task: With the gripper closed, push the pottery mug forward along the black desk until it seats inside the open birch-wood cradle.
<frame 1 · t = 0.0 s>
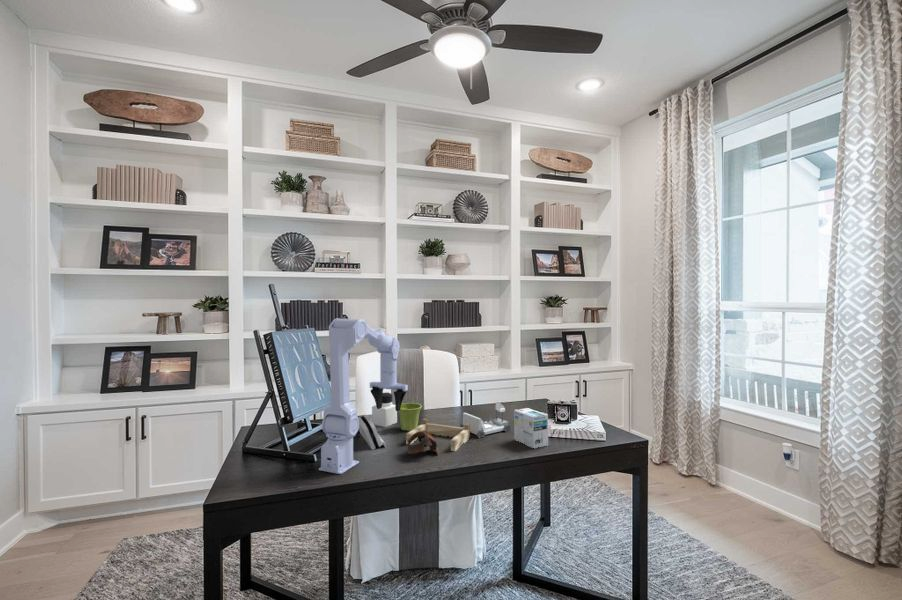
hand: (388, 409, 160), 10 cm above the table, tool pointing down, fingers open, 7 cm apart
medicine bottle: (384, 424, 177), on the table
plant pot: (409, 429, 170), on the table
toy car: (487, 431, 169), on the table
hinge: (369, 442, 156), on the table
pottery mug: (423, 454, 145), on the table
light bulb box: (530, 443, 155), on the table
cradle: (438, 441, 156), on the table
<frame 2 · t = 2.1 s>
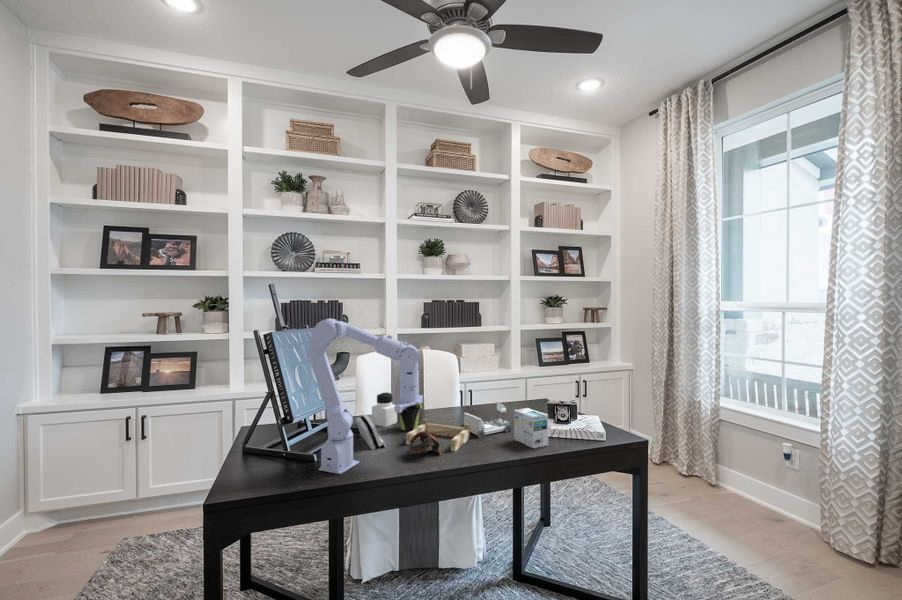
hand: (409, 430, 136), 10 cm above the table, tool pointing down, fingers closed
nothing on the table moved.
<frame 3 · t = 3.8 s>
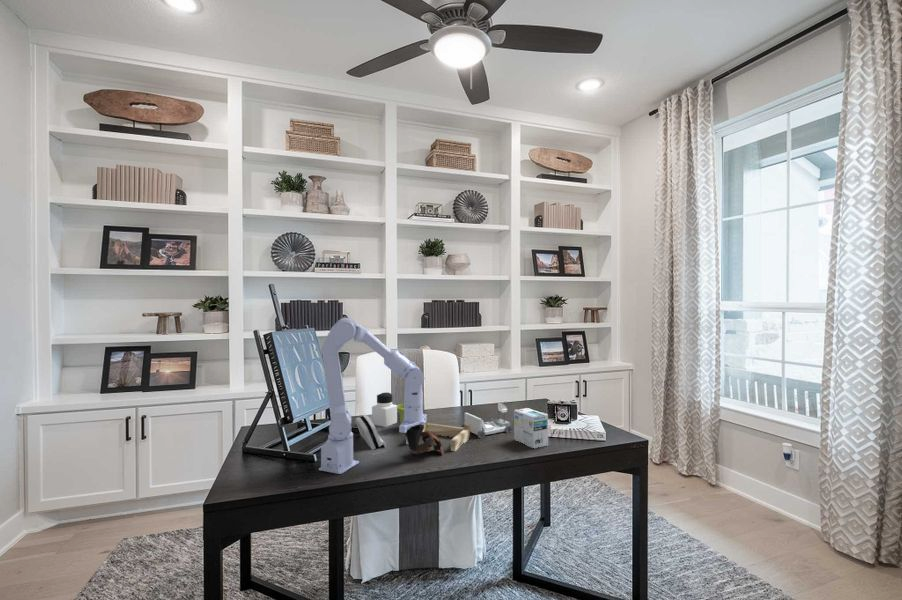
hand: (413, 449, 139), 3 cm above the table, tool pointing down, fingers closed
pottery mug: (427, 454, 145), on the table, touching gripper
everything else where it was.
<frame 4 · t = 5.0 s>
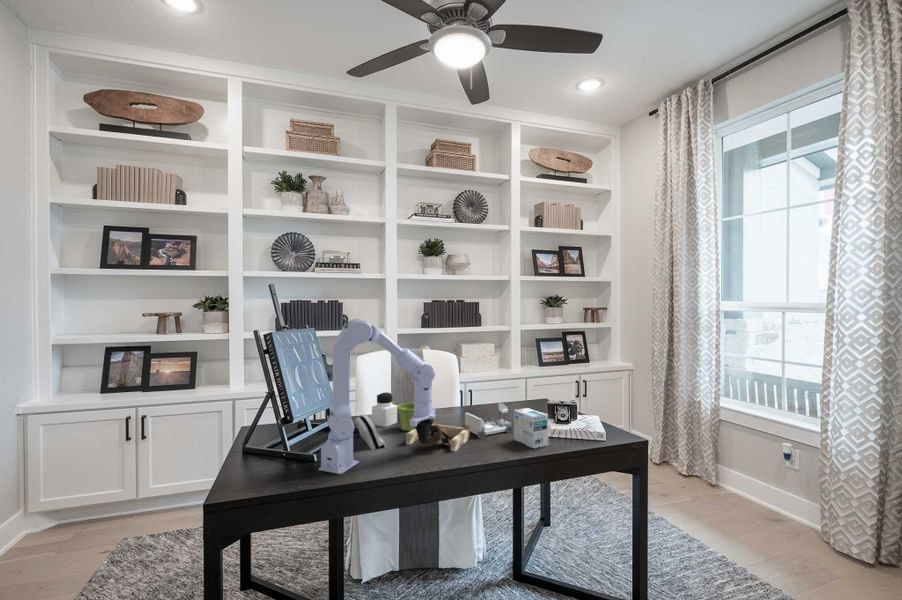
hand: (423, 442, 145), 3 cm above the table, tool pointing down, fingers closed
pottery mug: (436, 447, 151), on the table, touching gripper
everything else where it was.
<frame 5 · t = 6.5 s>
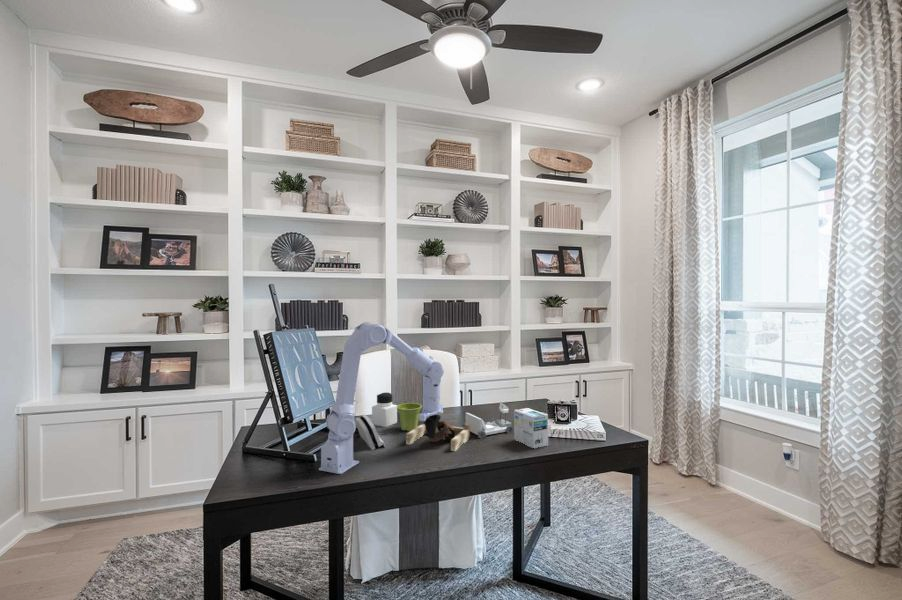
hand: (431, 437, 150), 3 cm above the table, tool pointing down, fingers closed, pressing on pottery mug
pottery mug: (442, 442, 156), on the table, touching cradle, gripper
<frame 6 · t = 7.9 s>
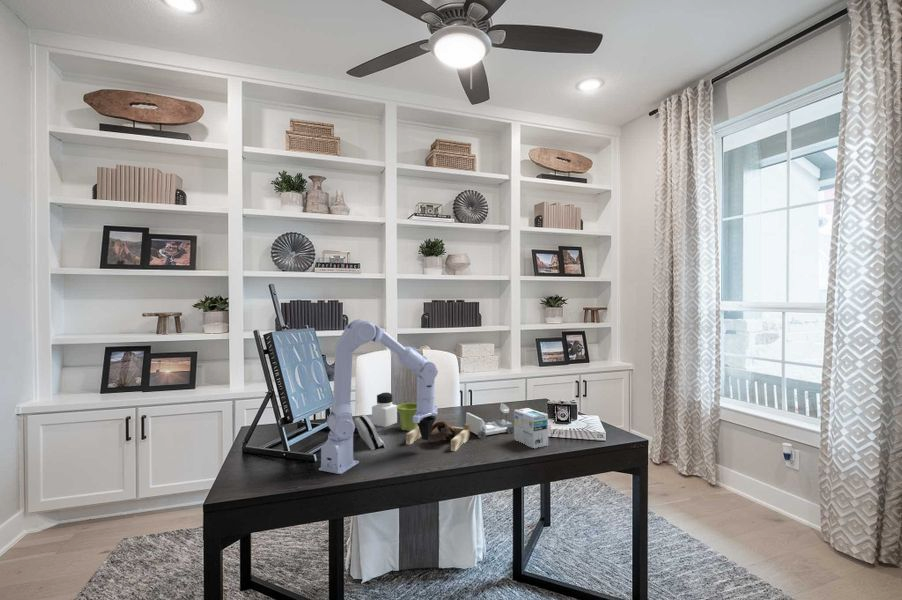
hand: (425, 439, 147), 4 cm above the table, tool pointing down, fingers closed
pottery mug: (443, 442, 156), on the table, touching cradle
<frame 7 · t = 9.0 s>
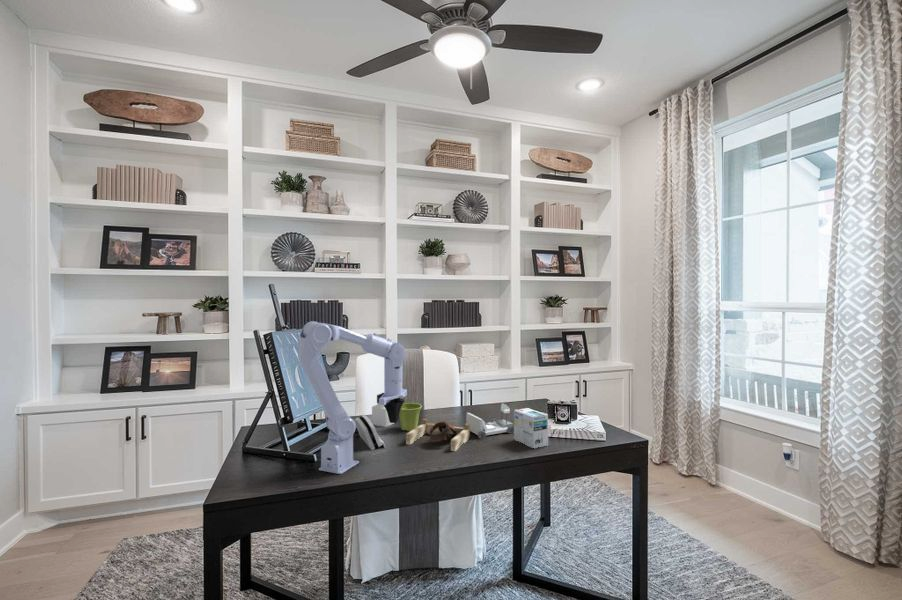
hand: (393, 422, 143), 10 cm above the table, tool pointing down, fingers closed
pottery mug: (444, 442, 156), on the table
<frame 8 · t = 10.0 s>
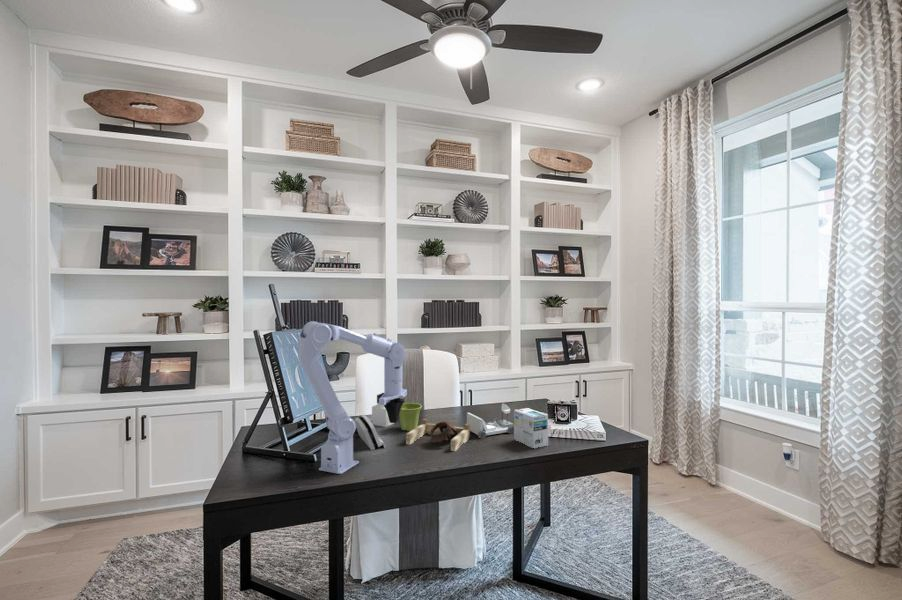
hand: (393, 422, 143), 10 cm above the table, tool pointing down, fingers closed
pottery mug: (445, 442, 156), on the table, touching cradle
at the end: pottery mug inside the target area on the cradle (2.7 cm from its centre), point 0.0 cm above the cradle's base; pottery mug tilted 1° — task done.
